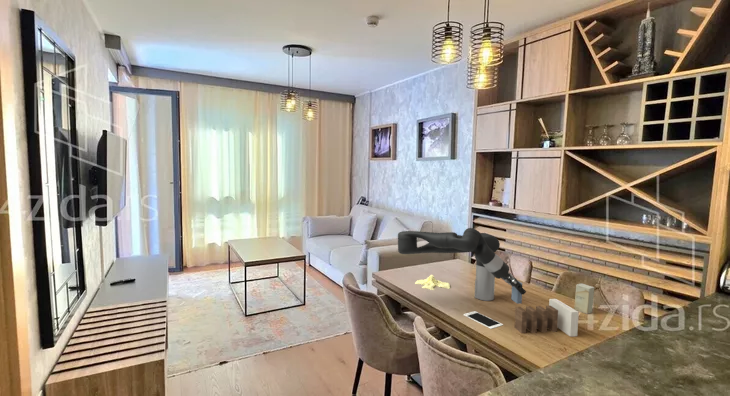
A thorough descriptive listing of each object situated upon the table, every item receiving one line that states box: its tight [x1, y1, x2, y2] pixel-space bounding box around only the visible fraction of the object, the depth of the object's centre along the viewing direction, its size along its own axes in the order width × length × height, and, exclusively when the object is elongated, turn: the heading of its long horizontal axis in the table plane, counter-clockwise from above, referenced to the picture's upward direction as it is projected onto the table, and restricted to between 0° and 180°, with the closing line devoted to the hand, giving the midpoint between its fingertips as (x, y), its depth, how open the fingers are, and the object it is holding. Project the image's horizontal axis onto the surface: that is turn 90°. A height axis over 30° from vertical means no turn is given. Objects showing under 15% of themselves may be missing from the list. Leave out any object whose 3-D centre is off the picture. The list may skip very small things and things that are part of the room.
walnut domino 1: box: [514, 306, 527, 334], centre depth 143 cm, size 2×5×9 cm, turn 6°
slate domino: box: [511, 280, 523, 305], centre depth 154 cm, size 2×5×9 cm, turn 5°
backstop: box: [548, 298, 580, 337], centre depth 145 cm, size 3×14×10 cm, turn 6°
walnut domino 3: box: [535, 305, 548, 333], centre depth 144 cm, size 2×5×9 cm, turn 6°
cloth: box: [414, 274, 451, 291], centre depth 201 cm, size 22×19×6 cm
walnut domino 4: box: [545, 305, 558, 333], centre depth 145 cm, size 2×5×9 cm, turn 6°
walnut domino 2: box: [525, 305, 538, 334], centre depth 144 cm, size 2×5×9 cm, turn 6°
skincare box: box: [573, 283, 595, 315], centre depth 163 cm, size 6×4×12 cm
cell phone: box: [462, 310, 504, 330], centre depth 154 cm, size 8×16×1 cm, turn 30°
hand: (520, 290), depth 154 cm, fingers closed on slate domino, 5 cm apart
